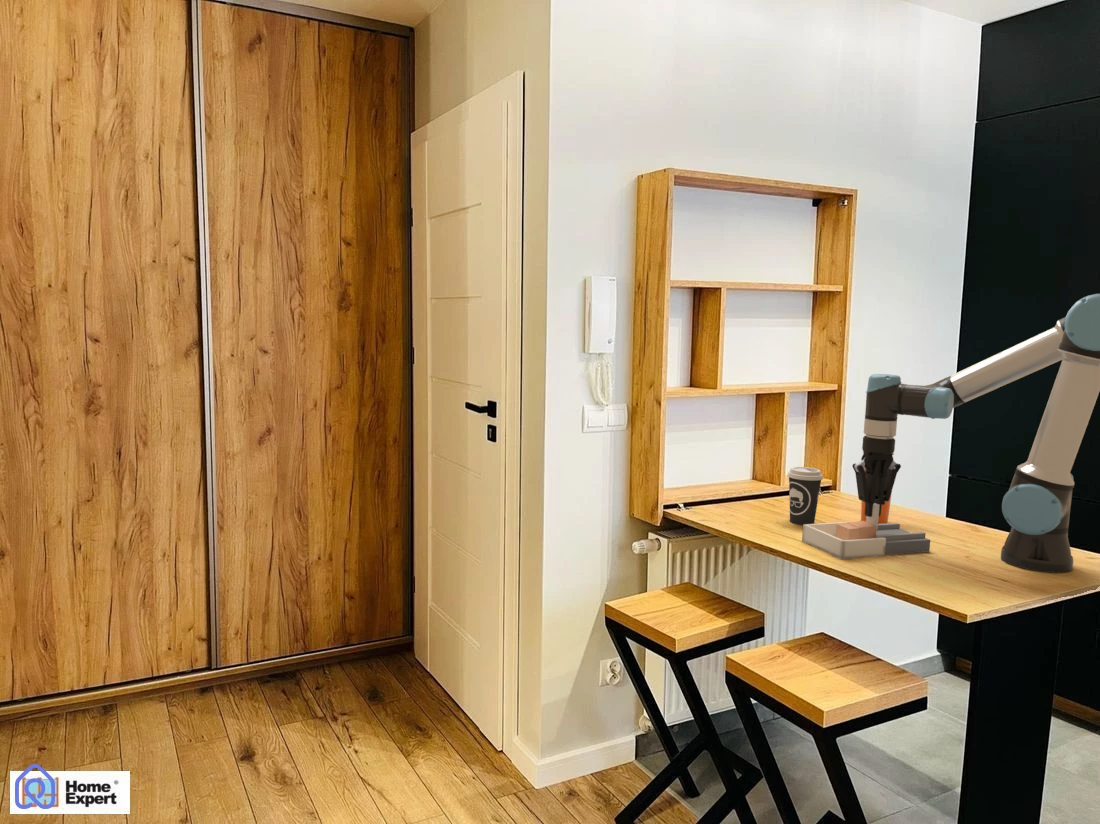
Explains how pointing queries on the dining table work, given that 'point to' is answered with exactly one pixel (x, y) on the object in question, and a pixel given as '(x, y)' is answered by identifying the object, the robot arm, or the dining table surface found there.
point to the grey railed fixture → (902, 539)
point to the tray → (841, 542)
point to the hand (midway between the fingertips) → (871, 528)
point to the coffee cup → (803, 494)
